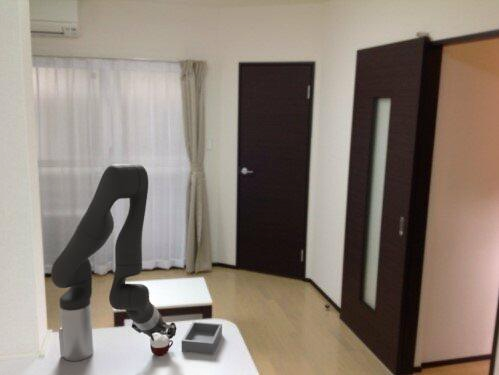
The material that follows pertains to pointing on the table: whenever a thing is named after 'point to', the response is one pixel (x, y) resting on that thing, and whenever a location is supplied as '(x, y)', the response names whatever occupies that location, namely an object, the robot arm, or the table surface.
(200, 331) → the dock tray
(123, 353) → the table surface
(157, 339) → the cocoa
